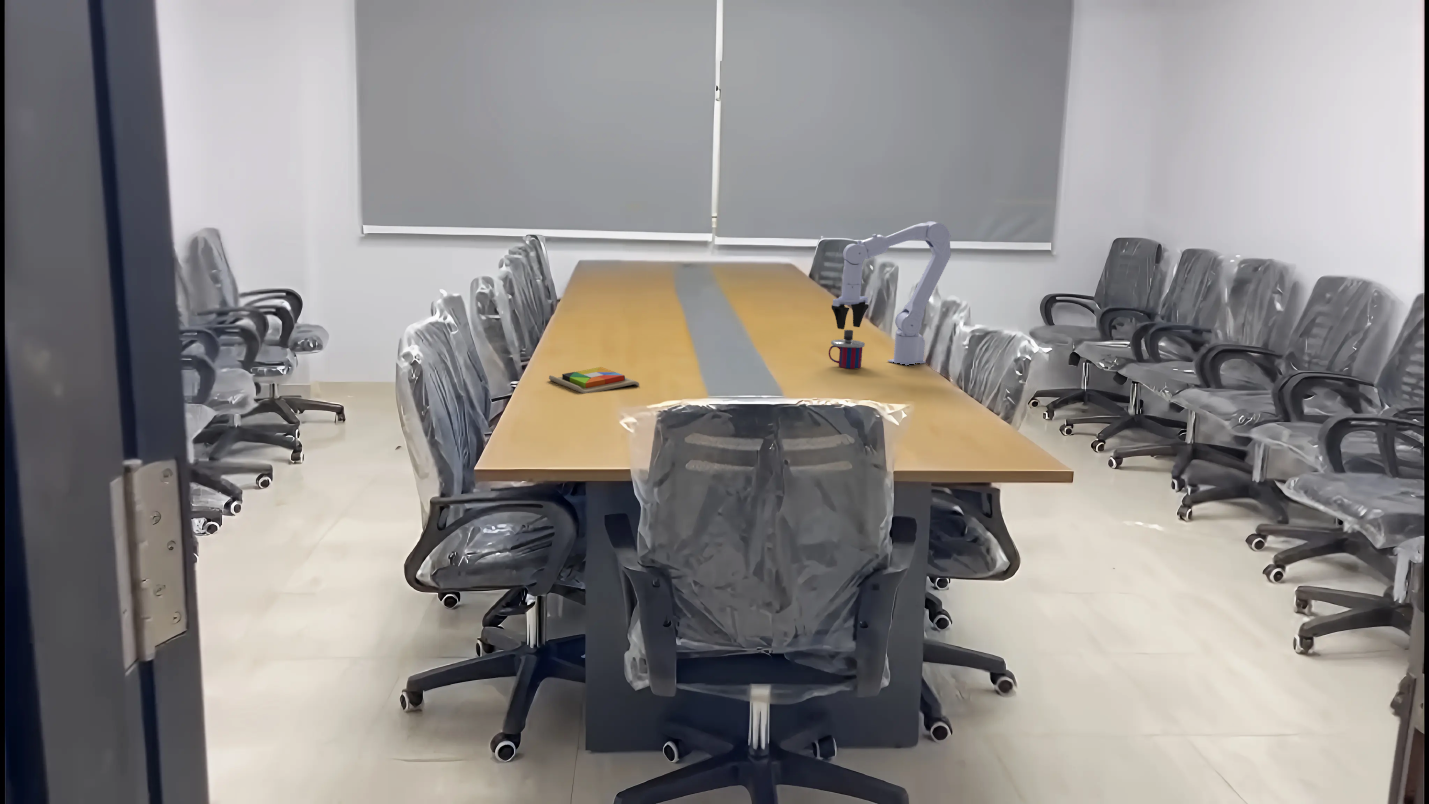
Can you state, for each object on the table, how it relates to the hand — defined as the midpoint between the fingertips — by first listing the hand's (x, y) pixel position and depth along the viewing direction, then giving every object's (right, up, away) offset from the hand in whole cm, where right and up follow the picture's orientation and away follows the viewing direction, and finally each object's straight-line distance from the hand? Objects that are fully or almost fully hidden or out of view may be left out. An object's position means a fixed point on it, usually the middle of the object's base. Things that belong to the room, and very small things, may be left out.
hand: (848, 327), depth 334 cm
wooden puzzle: (-74, -19, -43) cm, 87 cm away
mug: (-2, -12, -6) cm, 14 cm away
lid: (-1, -6, -8) cm, 10 cm away
